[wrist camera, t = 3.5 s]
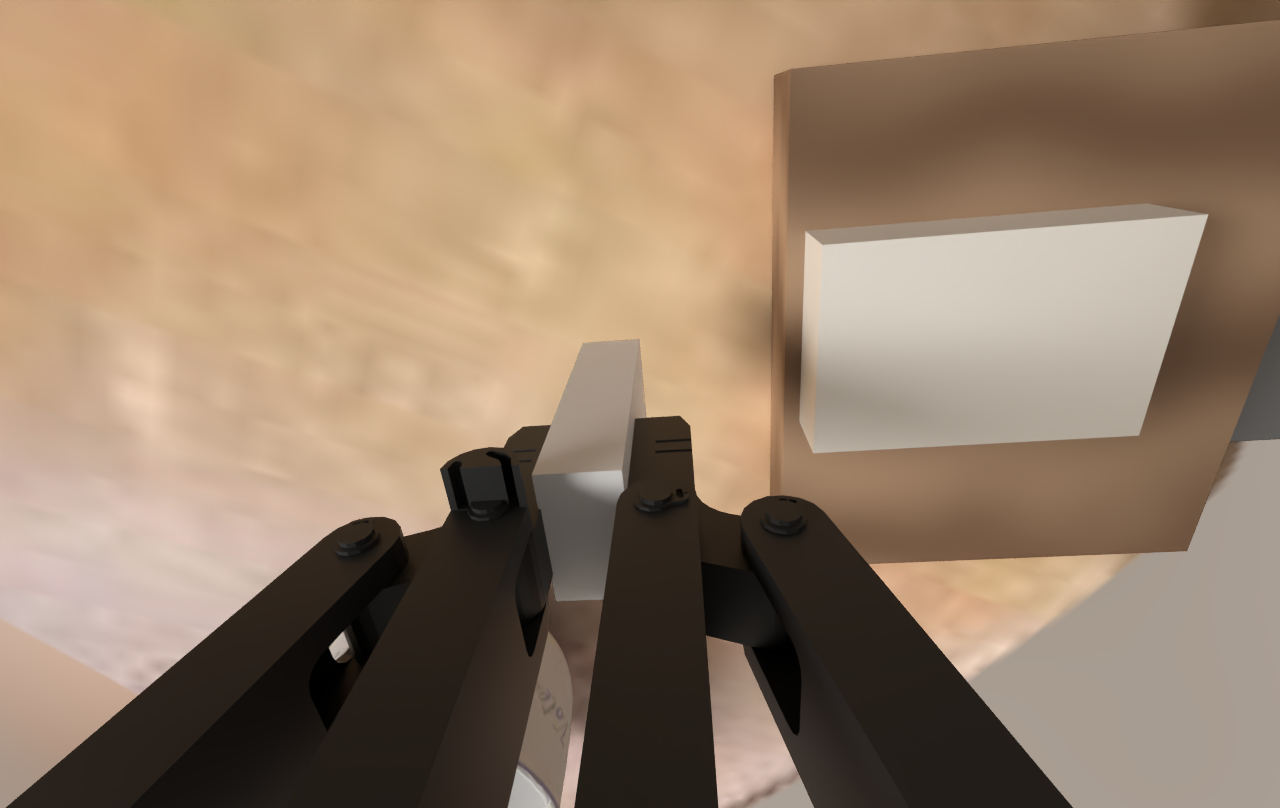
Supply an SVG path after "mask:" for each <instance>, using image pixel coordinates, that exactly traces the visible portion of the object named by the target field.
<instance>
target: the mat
mask: <svg viewBox="0 0 1280 808" xmlns="http://www.w3.org/2000/svg"><path fill="white" fill-rule="evenodd" d="M1270 439H1280V314H1279V317H1278V319H1277V322H1276V325H1275V327H1274V330H1273V332H1272V335H1271V337H1270V340H1269V342H1268V345H1267V348H1266V350H1265V353H1264V355H1263V358H1262V360H1261V363H1260V365H1259V368H1258V371H1257V373H1256V376H1255V378H1254V381H1253V383H1252V386H1251V388H1250V391H1249V394H1248V396H1247V399H1246V401H1245V404H1244V406H1243V409H1242V411H1241V414H1240V417H1239V419H1238V422H1237V424H1236V427H1235V429H1234V432H1233V435H1232V437H1231V440H1230V442H1233V441H1252V440H1270Z"/></svg>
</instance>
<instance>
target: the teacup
mask: <svg viewBox="0 0 1280 808" xmlns="http://www.w3.org/2000/svg"><path fill="white" fill-rule="evenodd" d="M348 648H349V645H348V643H347V640H346V638H345V635H344V633H343V632H342V633H341V634H340V635H339V637H338V638H337V639H336V640H335V641H334V642H333V643H332V644H331V645H330V646H329V649H330V652H331V654H332V656H333V658H334V659H335V660H336V659H338V658H339V657H340V656H342V655H343V654H344V653H345V652H346V651H347V650H348ZM572 706H573V690H572V681H571V676H570V671H569V667H568V664H567V661H566V659H565V656H564V654H563V652H562V650H561V648H560V646H559V645H558V643H557V642H556V640H555V639H554V637H553V636H552V635H551V634H550V632H549V631H548V636H547V640H546V644H545V649H544V653H543V657H542V662H541V666H540V670H539V675H538V679H537V683H536V688H535V692H534V696H533V701H532V705H531V709H530V714H529V718H528V722H527V726H526V731H525V735H524V739H523V744H522V748H521V752H520V757H519V761H518V765H517V770H516V774H515V778H514V783H513V787H512V791H511V796H510V800H509V804H508V808H560V802H561V796H562V790H563V783H564V777H565V770H566V763H567V755H568V748H569V740H570V731H571V721H572Z"/></svg>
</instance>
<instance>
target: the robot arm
mask: <svg viewBox="0 0 1280 808" xmlns="http://www.w3.org/2000/svg"><path fill="white" fill-rule="evenodd" d="M440 471H441V474H442V478H443V482H444V486H445V489H446V493H447V497H448V501H449V505H450V508H451V512H450V513H449V515H448V517H447V519H446V521H445V522H444V524H443V526H442V527H439V528H436V529H433V530H429V531H425V532H421V533H417V534H413V535H409V536H405V537H403V533H402V530H401V527H400V526H399V524H398V523H397V522H396V521H395V520H393V519H389V518H386V517H370V518H363V519H359V520H355V521H352V522H350V523H349V524H347V525H344V526H342V527H340V528H338V529H336V530H335V531H333V532H332V533H330V534H329V535H327V536H326V537H325V538H323V539H322V540H321V541H320V542H319V543H317V544H316V545H315V546H314V547H313V548H312V549H310V550H309V551H308V552H307V553H306V554H304V555H303V556H302V557H301V558H300V559H299V560H297V561H296V562H295V563H294V564H293V565H291V566H290V567H289V568H288V569H287V570H286V571H284V572H283V573H282V574H281V575H280V576H279V577H277V578H276V579H275V580H274V581H273V582H271V583H270V584H269V585H268V586H267V587H266V588H264V589H263V590H262V591H261V592H260V593H258V594H257V595H256V596H255V597H254V598H253V599H251V600H250V601H249V602H248V603H247V604H245V605H244V606H243V607H242V608H241V609H240V610H238V611H237V612H236V613H235V614H234V615H232V616H231V617H230V618H229V619H228V620H227V621H225V622H224V623H223V624H222V625H221V626H220V627H218V628H217V629H216V630H215V631H214V632H212V633H211V634H210V635H209V636H208V637H207V638H205V639H204V640H203V641H202V642H201V643H199V644H198V645H197V646H196V647H195V648H194V649H192V650H191V651H190V652H189V653H188V654H186V655H185V656H184V657H183V658H182V659H181V660H179V661H178V662H177V663H176V664H175V665H173V666H172V667H171V668H170V669H169V670H168V671H166V672H165V673H164V674H163V675H162V676H161V677H159V678H158V679H157V680H156V681H155V682H153V683H152V684H151V685H150V686H149V687H148V688H146V689H145V690H144V691H143V692H142V693H140V694H139V695H138V696H137V697H136V698H135V699H133V700H132V701H131V702H130V703H129V704H127V705H126V706H125V707H124V708H123V709H122V710H120V711H119V712H118V713H117V714H116V715H115V716H113V717H112V718H111V719H110V720H109V721H108V722H106V723H105V724H104V725H103V726H102V727H100V728H99V729H98V730H97V731H96V732H94V733H93V734H92V735H91V736H90V737H89V738H87V739H86V740H85V741H84V742H83V743H82V744H80V745H79V746H78V747H77V748H76V749H74V750H73V751H72V752H71V753H70V754H68V755H67V756H66V757H65V758H64V759H63V760H61V761H60V762H59V763H58V764H57V765H56V766H54V767H53V768H52V769H51V770H50V771H48V772H47V773H46V774H45V775H44V776H43V777H41V778H40V779H39V780H38V781H37V782H36V783H34V784H33V785H32V786H31V787H30V788H28V789H27V790H26V791H25V792H24V793H22V795H20V796H19V797H18V798H17V799H15V800H14V801H13V802H12V803H11V804H10V805H8V806H7V807H6V808H508V804H509V800H510V796H511V791H512V787H513V783H514V778H515V774H516V770H517V765H518V761H519V757H520V752H521V748H522V744H523V739H524V735H525V731H526V726H527V722H528V718H529V714H530V709H531V705H532V701H533V696H534V692H535V688H536V683H537V679H538V675H539V670H540V666H541V662H542V657H543V653H544V649H545V644H546V640H547V636H548V631H549V627H550V611H549V606H548V601H547V596H548V592H549V588H550V584H551V580H552V584H553V589H554V595H555V600H556V601H582V600H603V606H602V613H601V620H600V627H599V635H598V642H597V649H596V656H595V663H594V671H593V678H592V685H591V692H590V699H589V707H588V714H587V721H586V728H585V735H584V742H583V750H582V757H581V764H580V771H579V778H578V786H577V793H576V800H575V807H574V808H718V797H717V783H716V769H715V755H714V741H713V727H712V713H711V699H710V685H709V671H708V657H707V643H706V635H707V636H711V637H715V638H719V639H723V640H727V641H731V642H735V643H739V644H743V647H744V652H745V656H746V658H747V660H748V662H749V665H750V667H751V669H752V671H753V673H754V676H755V678H756V680H757V682H758V684H759V687H760V689H761V691H762V693H763V695H764V698H765V700H766V702H767V704H768V707H769V709H770V711H771V713H772V715H773V718H774V720H775V722H776V724H777V726H778V729H779V731H780V733H781V735H782V737H783V740H784V742H785V744H786V746H787V749H788V751H789V753H790V755H791V757H792V760H793V762H794V764H795V766H796V768H797V771H798V773H799V775H800V777H801V779H802V782H803V784H804V786H805V788H806V790H807V793H808V795H809V797H810V799H811V802H812V804H813V806H814V808H1073V807H1072V806H1071V805H1070V804H1069V802H1068V801H1067V800H1066V799H1065V798H1064V796H1063V795H1062V794H1061V793H1060V792H1059V791H1058V789H1057V788H1056V787H1055V786H1054V785H1053V783H1052V782H1051V781H1050V780H1049V779H1048V777H1047V776H1046V775H1045V774H1044V773H1043V771H1042V770H1041V769H1040V768H1039V767H1038V766H1037V764H1036V763H1035V762H1034V761H1033V760H1032V758H1031V757H1030V756H1029V755H1028V754H1027V753H1026V751H1025V750H1024V749H1023V748H1022V746H1021V745H1020V744H1019V743H1018V742H1017V741H1016V739H1015V738H1014V737H1013V736H1012V735H1011V734H1010V732H1009V731H1008V730H1007V729H1006V727H1005V726H1004V725H1003V724H1002V723H1001V721H1000V720H999V719H998V718H997V717H996V716H995V714H994V713H993V712H992V711H991V710H990V708H989V707H988V706H987V705H986V704H985V702H984V701H983V700H982V699H981V698H980V697H979V695H978V694H977V693H976V692H975V691H974V689H973V688H972V687H971V686H970V685H969V683H968V682H967V681H966V680H965V679H964V677H963V676H962V675H961V674H960V673H959V671H958V670H957V669H956V668H955V667H954V666H953V664H952V663H951V662H950V661H949V660H948V658H947V657H946V656H945V655H944V654H943V652H942V651H941V650H940V649H939V648H938V646H937V645H936V644H935V643H934V642H933V641H932V639H931V638H930V637H929V636H928V635H927V633H926V632H925V631H924V630H923V629H922V627H921V626H920V625H919V624H918V623H917V621H916V620H915V619H914V618H913V617H912V616H911V614H910V613H909V612H908V611H907V610H906V608H905V607H904V606H903V605H902V604H901V602H900V601H899V600H898V599H897V598H896V596H895V595H894V594H893V593H892V592H891V591H890V589H889V588H888V587H887V586H886V585H885V583H884V582H883V581H882V580H881V579H880V577H879V576H878V575H877V574H876V573H875V571H874V570H873V569H872V568H871V567H870V566H869V564H868V563H867V562H866V561H865V560H864V558H863V557H862V556H861V555H860V554H859V552H858V551H857V550H856V549H855V548H854V546H853V545H852V544H851V543H850V542H849V541H848V539H847V538H846V537H845V536H844V535H843V533H842V532H841V531H840V530H839V529H838V527H837V526H836V525H835V524H834V523H833V521H832V520H831V519H830V518H829V517H828V516H827V514H826V513H825V512H824V511H823V510H822V509H820V508H819V507H818V506H817V505H815V504H814V503H812V502H809V501H807V500H804V499H802V498H799V497H792V496H785V495H779V496H767V497H764V498H761V499H758V500H755V501H753V502H752V503H750V504H749V505H748V506H746V507H745V508H744V510H743V512H742V514H741V516H740V515H734V514H728V513H724V512H720V511H717V510H715V509H713V508H710V507H708V506H707V505H706V504H704V503H703V502H702V501H701V500H700V499H699V498H698V496H697V494H696V491H695V484H694V471H693V457H692V444H691V431H690V425H689V424H688V423H687V422H686V421H685V420H684V419H683V418H682V417H681V416H669V417H652V418H646V407H645V396H644V385H643V374H642V364H641V353H640V342H639V339H632V340H617V341H603V342H588V343H583V344H582V347H581V349H580V352H579V354H578V357H577V360H576V362H575V365H574V367H573V370H572V372H571V375H570V378H569V380H568V383H567V385H566V388H565V390H564V393H563V396H562V398H561V401H560V403H559V406H558V408H557V411H556V414H555V416H554V419H553V421H552V424H551V425H545V426H528V427H522V428H521V429H520V430H518V431H517V432H516V433H515V434H513V435H512V436H511V437H510V438H508V440H507V442H506V444H505V446H504V448H494V447H489V448H482V449H475V450H472V451H469V452H466V453H463V454H460V455H458V456H457V457H455V458H453V459H451V460H449V461H448V462H447V463H446V464H445V465H444V466H443V467H442V468H441V469H440ZM342 632H343V633H344V635H345V638H346V640H347V643H348V645H349V648H348V650H347V651H346V652H345V653H344V654H343V655H342V656H340V657H339V658H338V659H336V660H335V659H334V658H333V656H332V654H331V652H330V649H329V646H330V645H331V644H332V643H333V642H334V641H335V640H336V639H337V638H338V637H339V635H340V634H341V633H342Z"/></svg>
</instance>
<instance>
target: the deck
mask: <svg viewBox="0 0 1280 808" xmlns="http://www.w3.org/2000/svg"><path fill="white" fill-rule="evenodd" d="M1145 203H1148V204H1153V205H1159V206H1165V207H1170V208H1176V209H1181V210H1187V211H1193V212H1198V213H1204V214H1208V217H1207V221H1206V224H1205V227H1204V230H1203V233H1202V237H1201V240H1200V243H1199V246H1198V249H1197V252H1196V256H1195V259H1194V262H1193V265H1192V268H1191V272H1190V275H1189V278H1188V281H1187V284H1186V288H1185V291H1184V294H1183V297H1182V300H1181V303H1180V307H1179V310H1178V313H1177V316H1176V319H1175V323H1174V326H1173V329H1172V332H1171V335H1170V338H1169V342H1168V345H1167V348H1166V351H1165V354H1164V358H1163V361H1162V364H1161V367H1160V370H1159V374H1158V377H1157V380H1156V383H1155V386H1154V389H1153V393H1152V396H1151V399H1150V402H1149V405H1148V409H1147V412H1146V415H1145V418H1144V421H1143V424H1142V428H1141V431H1140V434H1139V436H1123V437H1105V438H1086V439H1068V440H1049V441H1031V442H1013V443H994V444H976V445H957V446H939V447H920V448H902V449H883V450H865V451H847V452H828V453H813V452H812V449H811V447H810V445H809V443H808V440H807V438H806V436H805V433H804V431H803V429H802V427H801V424H800V422H799V417H800V386H801V355H802V324H803V293H804V262H805V231H813V230H825V229H838V228H850V227H862V226H874V225H887V224H899V223H911V222H924V221H936V220H948V219H961V218H973V217H985V216H998V215H1010V214H1022V213H1034V212H1047V211H1059V210H1071V209H1084V208H1096V207H1108V206H1121V205H1133V204H1145ZM1279 314H1280V20H1272V21H1262V22H1252V23H1243V24H1233V25H1223V26H1213V27H1203V28H1193V29H1183V30H1173V31H1163V32H1154V33H1144V34H1134V35H1124V36H1114V37H1104V38H1094V39H1084V40H1074V41H1065V42H1055V43H1045V44H1035V45H1025V46H1015V47H1005V48H995V49H985V50H976V51H966V52H956V53H946V54H936V55H926V56H916V57H906V58H896V59H887V60H877V61H867V62H857V63H847V64H837V65H827V66H817V67H807V68H798V69H790V70H787V71H785V72H782V73H779V74H777V75H774V147H773V257H772V367H771V477H770V496H779V495H785V496H792V497H799V498H802V499H804V500H807V501H809V502H812V503H814V504H815V505H817V506H818V507H819V508H820V509H822V510H823V511H824V512H825V513H826V514H827V516H828V517H829V518H830V519H831V520H832V521H833V523H834V524H835V525H836V526H837V527H838V529H839V530H840V531H841V532H842V533H843V535H844V536H845V537H846V538H847V539H848V541H849V542H850V543H851V544H852V545H853V546H854V548H855V549H856V550H857V551H858V552H859V554H860V555H861V556H862V557H863V558H864V560H865V561H866V562H867V563H868V564H880V563H905V562H929V561H954V560H979V559H1003V558H1028V557H1053V556H1077V555H1102V554H1127V553H1151V552H1174V551H1175V552H1176V551H1187V550H1188V547H1189V544H1190V542H1191V539H1192V536H1193V534H1194V532H1195V529H1196V527H1197V524H1198V521H1199V519H1200V516H1201V514H1202V511H1203V509H1204V506H1205V504H1206V501H1207V498H1208V496H1209V493H1210V491H1211V488H1212V486H1213V483H1214V481H1215V478H1216V475H1217V473H1218V470H1219V468H1220V465H1221V463H1222V460H1223V458H1224V455H1225V452H1226V450H1227V447H1228V445H1229V442H1230V440H1231V437H1232V435H1233V432H1234V429H1235V427H1236V424H1237V422H1238V419H1239V417H1240V414H1241V411H1242V409H1243V406H1244V404H1245V401H1246V399H1247V396H1248V394H1249V391H1250V388H1251V386H1252V383H1253V381H1254V378H1255V376H1256V373H1257V371H1258V368H1259V365H1260V363H1261V360H1262V358H1263V355H1264V353H1265V350H1266V348H1267V345H1268V342H1269V340H1270V337H1271V335H1272V332H1273V330H1274V327H1275V325H1276V322H1277V319H1278V317H1279Z"/></svg>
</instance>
